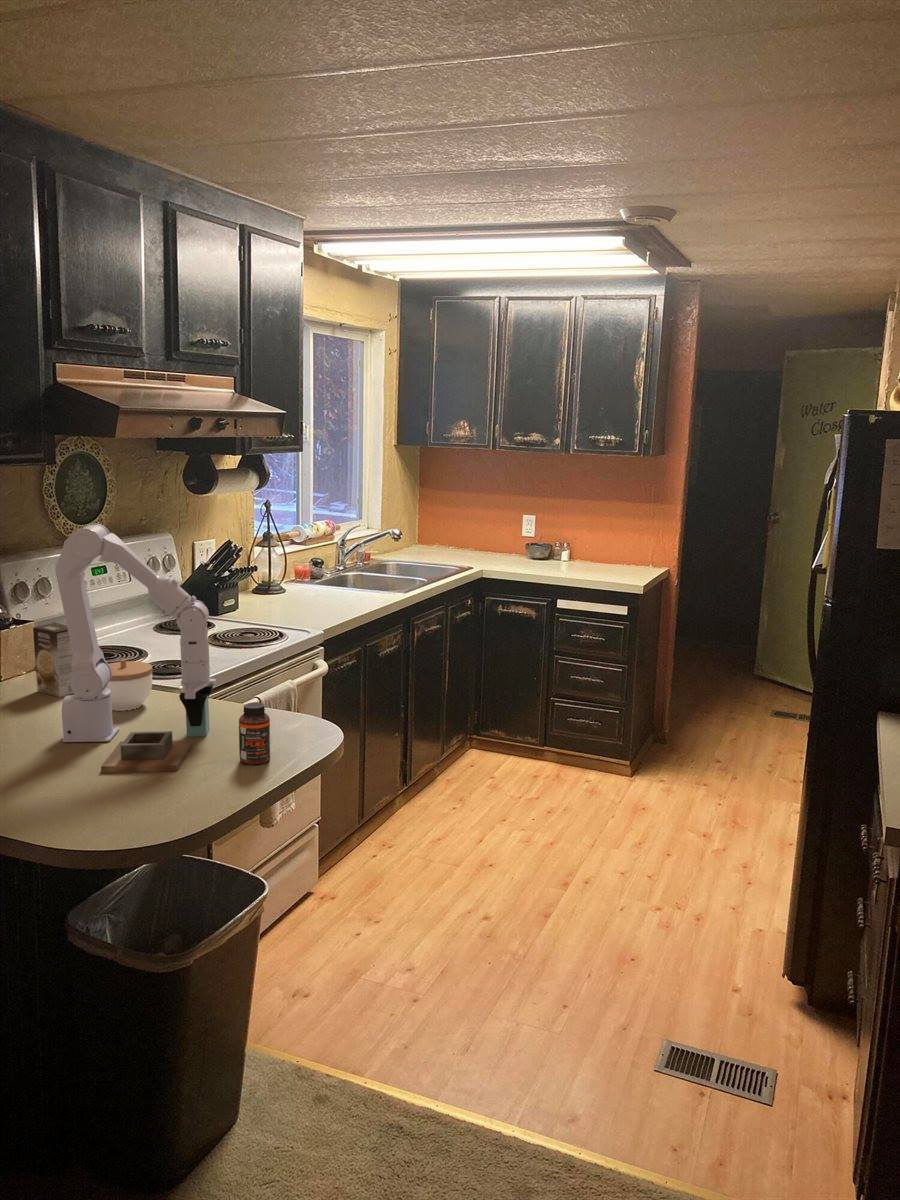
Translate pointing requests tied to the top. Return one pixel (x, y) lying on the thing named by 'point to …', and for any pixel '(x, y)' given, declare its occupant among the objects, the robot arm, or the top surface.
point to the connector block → (204, 726)
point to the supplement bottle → (254, 734)
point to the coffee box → (53, 659)
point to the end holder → (147, 753)
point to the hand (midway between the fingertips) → (197, 722)
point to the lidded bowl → (129, 684)
